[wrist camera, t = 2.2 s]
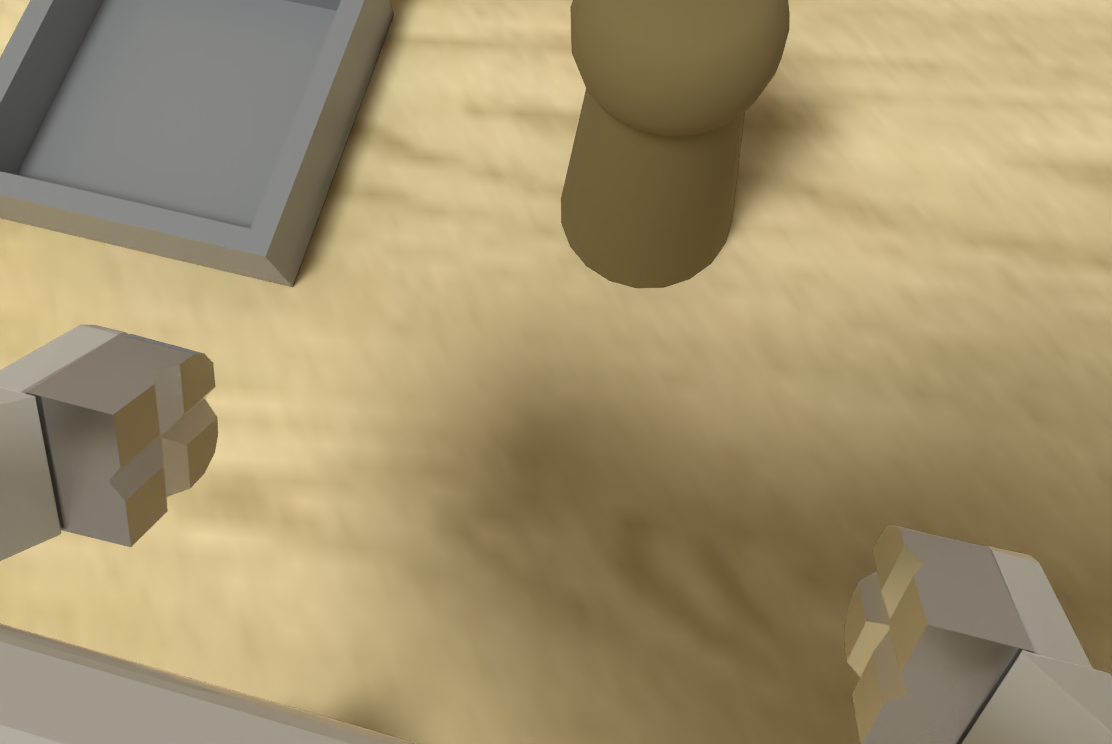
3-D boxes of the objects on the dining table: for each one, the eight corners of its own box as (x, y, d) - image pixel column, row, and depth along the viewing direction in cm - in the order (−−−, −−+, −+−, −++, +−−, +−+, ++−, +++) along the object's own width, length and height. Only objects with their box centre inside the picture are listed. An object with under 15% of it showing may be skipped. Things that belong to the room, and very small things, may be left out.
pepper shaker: (530, 245, 28) (502, 26, 17) (605, 109, 29) (620, -170, 19) (690, 316, 27) (763, 131, 16) (758, 172, 28) (865, -83, 18)
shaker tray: (393, 14, 31) (378, -36, 28) (292, 287, 28) (265, 256, 25) (117, -41, 32) (79, -94, 29) (-11, 215, 29) (-64, 180, 26)
